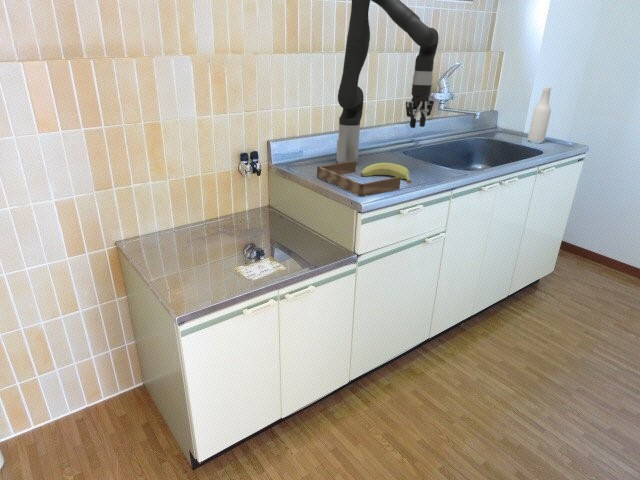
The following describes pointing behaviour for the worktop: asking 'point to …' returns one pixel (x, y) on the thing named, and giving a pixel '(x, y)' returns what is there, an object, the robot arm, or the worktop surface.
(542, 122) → the alcohol
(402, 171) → the banana
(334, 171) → the box
